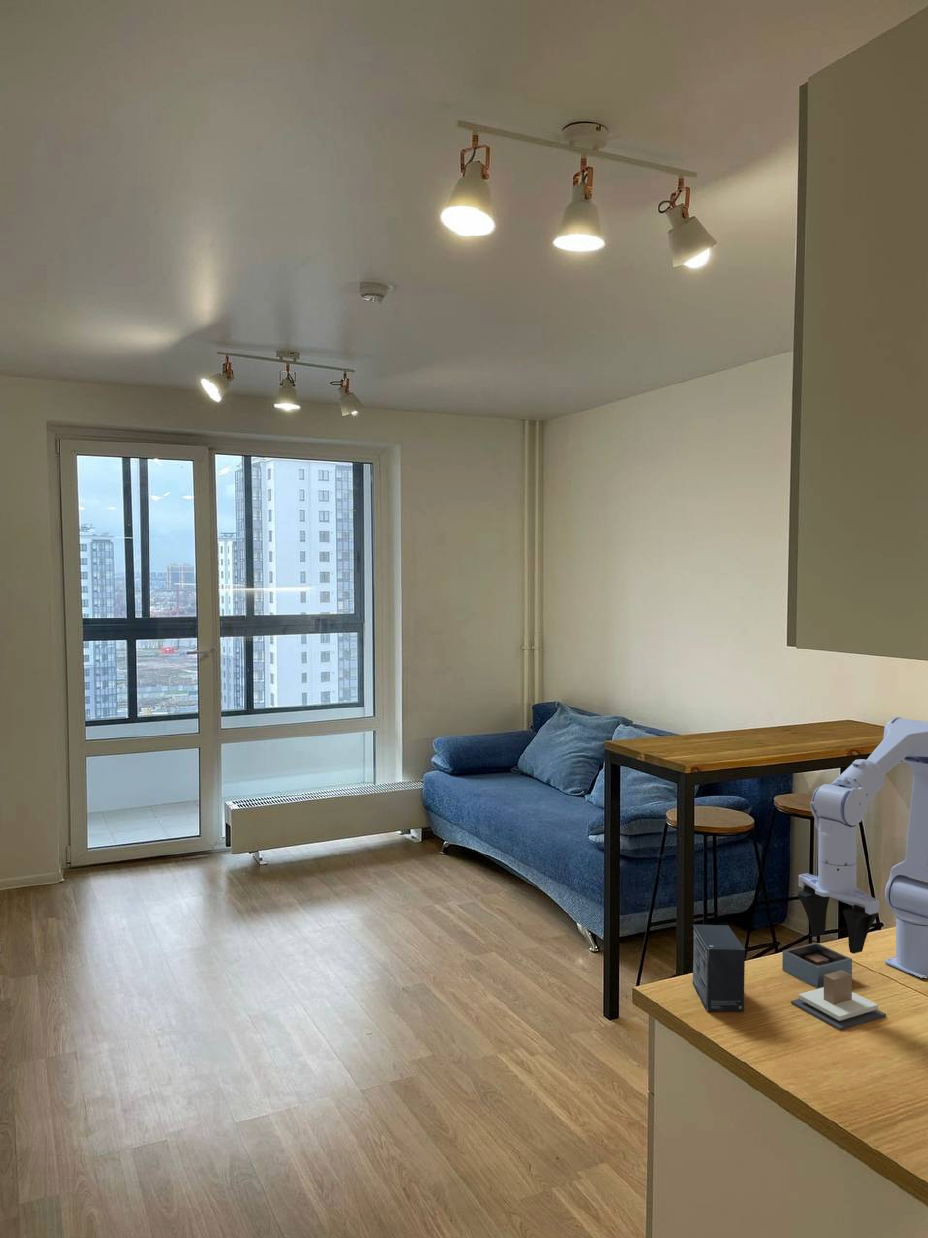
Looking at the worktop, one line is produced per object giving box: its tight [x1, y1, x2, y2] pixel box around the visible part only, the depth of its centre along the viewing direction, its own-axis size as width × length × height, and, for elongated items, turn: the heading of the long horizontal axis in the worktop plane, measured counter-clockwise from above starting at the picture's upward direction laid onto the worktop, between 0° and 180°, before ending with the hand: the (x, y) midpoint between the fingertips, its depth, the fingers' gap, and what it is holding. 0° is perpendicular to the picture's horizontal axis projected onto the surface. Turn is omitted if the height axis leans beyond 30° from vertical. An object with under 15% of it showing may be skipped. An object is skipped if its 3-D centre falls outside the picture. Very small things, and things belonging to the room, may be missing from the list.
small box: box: [692, 924, 746, 1013], centre depth 152 cm, size 11×6×10 cm, turn 179°
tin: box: [781, 942, 853, 989], centre depth 161 cm, size 8×8×4 cm
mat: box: [790, 998, 887, 1031], centre depth 148 cm, size 10×10×1 cm
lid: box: [797, 970, 879, 1021], centre depth 148 cm, size 8×8×5 cm
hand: (836, 943), depth 149 cm, fingers open, 7 cm apart
